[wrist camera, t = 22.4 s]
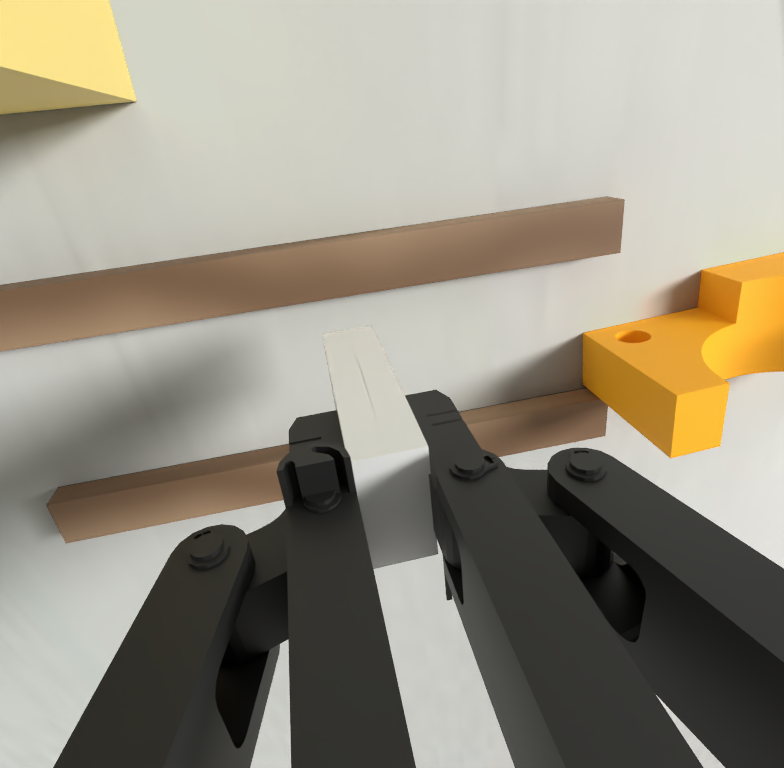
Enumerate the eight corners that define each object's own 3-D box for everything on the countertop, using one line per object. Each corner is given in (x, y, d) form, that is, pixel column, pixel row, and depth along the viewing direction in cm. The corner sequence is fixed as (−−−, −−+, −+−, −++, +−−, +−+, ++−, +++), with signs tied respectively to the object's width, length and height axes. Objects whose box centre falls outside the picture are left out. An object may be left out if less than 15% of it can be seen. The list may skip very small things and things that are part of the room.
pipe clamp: (831, 241, 24) (1006, 274, 18) (811, 329, 25) (963, 386, 20) (581, 294, 22) (682, 348, 17) (580, 382, 24) (670, 458, 19)
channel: (-38, 290, 18) (-59, 300, 17) (607, 196, 21) (624, 199, 20) (76, 524, 23) (65, 543, 22) (591, 423, 25) (605, 435, 24)
